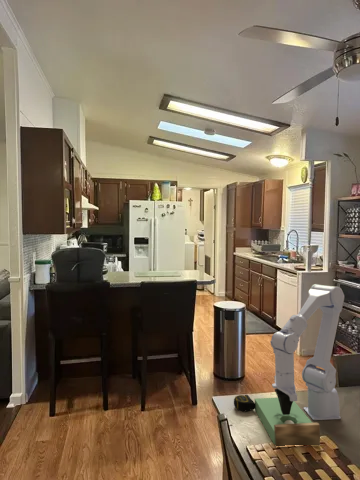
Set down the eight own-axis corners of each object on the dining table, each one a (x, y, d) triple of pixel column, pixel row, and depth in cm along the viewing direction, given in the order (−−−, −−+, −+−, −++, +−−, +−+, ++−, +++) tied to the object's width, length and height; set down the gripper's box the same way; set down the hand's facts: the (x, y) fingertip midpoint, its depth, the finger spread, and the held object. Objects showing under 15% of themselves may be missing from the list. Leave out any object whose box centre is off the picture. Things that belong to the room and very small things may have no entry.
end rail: (318, 443, 98) (317, 422, 98) (320, 445, 97) (319, 424, 97) (274, 445, 97) (274, 424, 97) (276, 447, 96) (275, 426, 96)
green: (290, 408, 119) (290, 396, 119) (320, 445, 97) (319, 431, 97) (254, 409, 118) (254, 398, 118) (276, 447, 96) (275, 433, 96)
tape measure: (256, 412, 117) (256, 401, 117) (237, 414, 115) (237, 403, 115) (249, 403, 123) (249, 393, 123) (231, 405, 122) (231, 394, 122)
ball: (296, 428, 101) (294, 437, 102) (296, 419, 104) (294, 428, 105) (284, 425, 102) (282, 433, 103) (284, 415, 105) (282, 424, 106)
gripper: (265, 363, 113) (266, 403, 113) (280, 380, 99) (281, 426, 98) (285, 362, 113) (286, 402, 113) (303, 379, 99) (304, 425, 99)
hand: (285, 413), depth 106 cm, fingers closed
